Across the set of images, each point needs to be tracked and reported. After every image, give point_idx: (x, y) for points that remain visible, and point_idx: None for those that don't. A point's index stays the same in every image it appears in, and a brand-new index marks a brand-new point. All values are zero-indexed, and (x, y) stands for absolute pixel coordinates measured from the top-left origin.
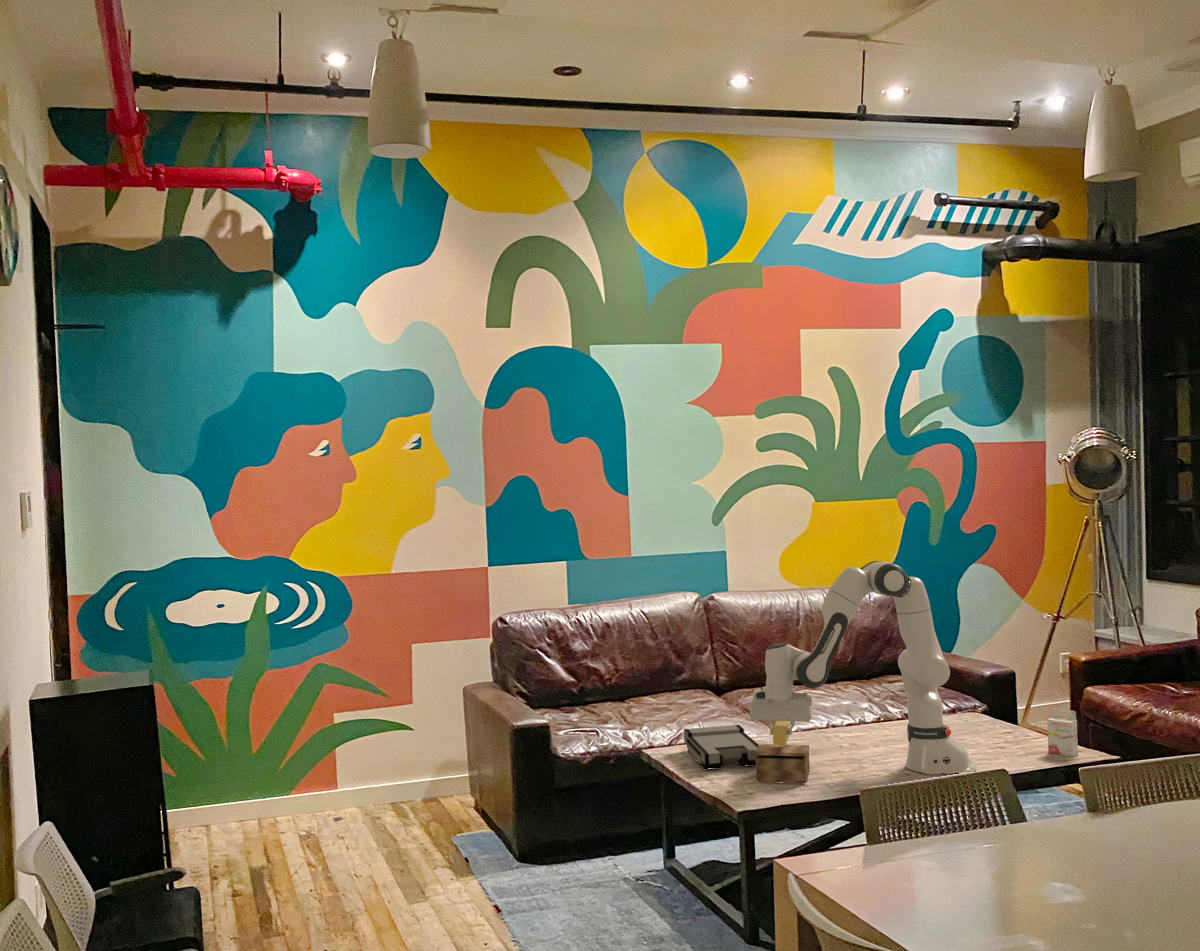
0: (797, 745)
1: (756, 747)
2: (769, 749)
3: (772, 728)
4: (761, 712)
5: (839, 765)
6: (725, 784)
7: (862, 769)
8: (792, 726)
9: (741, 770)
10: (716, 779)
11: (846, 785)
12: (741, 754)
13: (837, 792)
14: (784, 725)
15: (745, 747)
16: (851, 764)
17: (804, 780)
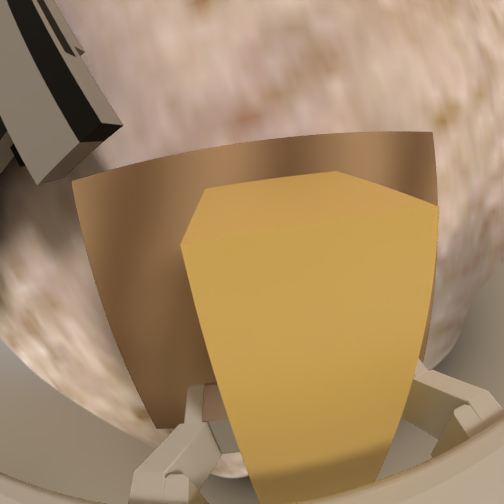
0: (367, 156)
1: (51, 102)
2: (207, 361)
3: (215, 441)
4: None
5: (432, 33)
6: (95, 365)
7: (493, 88)
8: (440, 428)
9: (58, 189)
10: (45, 322)
11: (466, 274)
12: (13, 147)
13: (438, 341)
14: (367, 440)
15: (5, 130)
16: (458, 26)
17: None
